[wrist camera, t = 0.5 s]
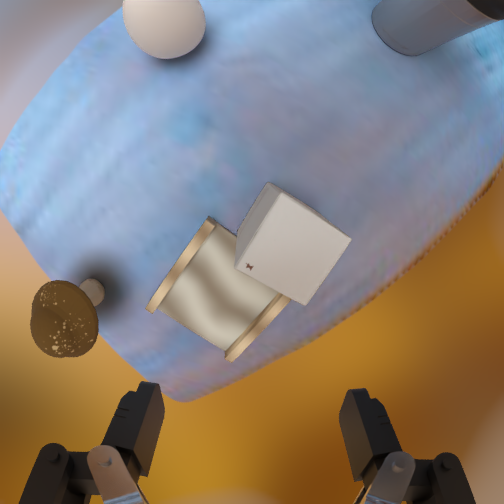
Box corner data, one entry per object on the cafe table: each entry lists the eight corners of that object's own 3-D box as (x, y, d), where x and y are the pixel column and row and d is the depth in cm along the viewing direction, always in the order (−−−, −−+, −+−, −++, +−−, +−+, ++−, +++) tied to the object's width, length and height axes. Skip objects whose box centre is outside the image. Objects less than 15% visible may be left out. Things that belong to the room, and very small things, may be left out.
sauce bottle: (221, 52, 29) (200, -31, 12) (162, 80, 30) (93, 24, 12) (196, 8, 26) (164, -77, 9) (141, 36, 27) (74, -30, 10)
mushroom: (144, 282, 38) (97, 346, 23) (103, 327, 40) (59, 390, 26) (96, 234, 35) (29, 277, 21) (61, 286, 38) (4, 337, 23)
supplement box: (286, 260, 37) (304, 310, 25) (235, 230, 36) (230, 269, 24) (319, 211, 35) (355, 240, 23) (268, 178, 34) (280, 190, 22)
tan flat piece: (208, 216, 35) (206, 220, 33) (297, 280, 38) (301, 288, 36) (150, 300, 38) (144, 308, 36) (232, 352, 41) (231, 363, 39)
